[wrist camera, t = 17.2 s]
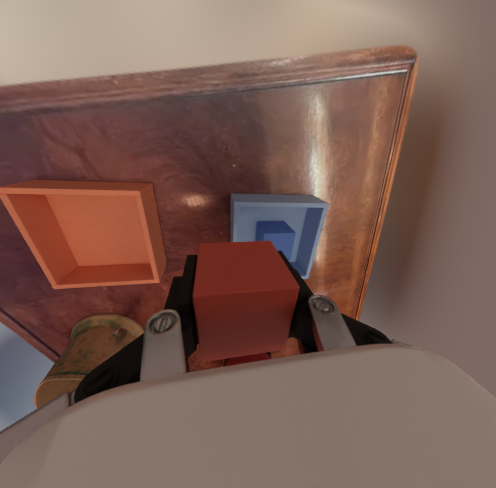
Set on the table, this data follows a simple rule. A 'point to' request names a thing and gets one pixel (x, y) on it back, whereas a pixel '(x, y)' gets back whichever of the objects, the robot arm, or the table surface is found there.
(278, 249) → the blue block
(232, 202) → the blue bin
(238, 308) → the red block
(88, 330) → the mug
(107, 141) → the table surface
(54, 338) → the table surface
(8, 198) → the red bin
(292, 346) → the table surface
